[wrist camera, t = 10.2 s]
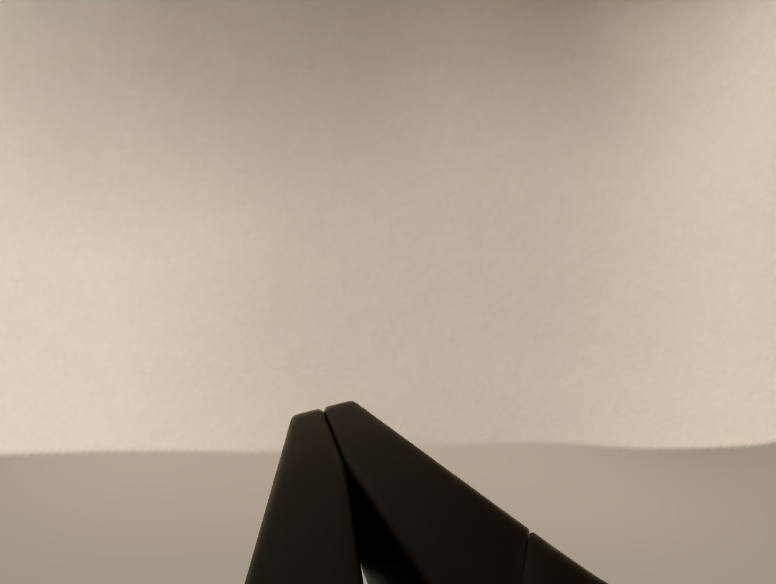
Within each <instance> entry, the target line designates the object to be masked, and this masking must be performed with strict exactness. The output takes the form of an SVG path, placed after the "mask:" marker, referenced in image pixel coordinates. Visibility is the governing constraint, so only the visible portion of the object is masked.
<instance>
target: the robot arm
mask: <svg viewBox="0 0 776 584" xmlns="http://www.w3.org/2000/svg"><path fill="white" fill-rule="evenodd" d="M361 567H362V570H363V573H364V575H365V577H366V580H367V583H368V584H608V583H606V582H604V581H603V580H601V579H600V578H598V577H596V576H595V575H593V574H592V573H590V572H589V571H587V570H586V569H585V568H583V567H581V566H580V565H578V564H577V563H576V562H574V561H573V560H571V559H570V558H569V557H567V556H566V555H564V554H563V553H561V552H560V551H558V550H557V549H556V548H554V547H553V546H551V545H550V544H549V543H547V542H546V541H545V540H543V539H542V538H541V537H539V536H538V535H537V534H535V533H530V534H529V529H528V528H527V527H525V526H523V525H522V524H521V523H520V522H518V521H517V520H515V519H514V518H513V517H511V516H510V515H509V514H507V513H506V512H505V511H503V510H502V509H501V508H499V507H497V506H496V505H495V504H494V503H492V502H491V501H490V500H488V499H487V498H485V497H484V496H483V495H481V494H480V493H479V492H477V491H476V490H474V489H473V488H472V487H470V486H469V485H468V484H466V483H465V482H464V481H462V480H461V479H460V478H458V477H457V476H455V475H454V474H452V473H451V472H450V471H449V470H447V469H446V468H444V467H443V466H442V465H440V464H439V463H437V462H436V461H435V460H433V459H432V458H431V457H429V456H428V455H427V454H425V453H424V452H423V451H421V450H420V449H419V448H417V447H416V446H414V445H413V444H412V443H410V442H409V441H408V440H406V439H405V438H403V437H402V436H401V435H399V434H398V433H397V432H395V431H394V430H393V429H391V428H390V427H388V426H387V425H386V424H384V423H383V422H382V421H380V420H379V419H377V418H376V417H375V416H373V415H372V414H371V413H369V412H368V411H367V410H365V409H364V408H362V407H361V406H360V405H358V404H357V403H355V402H353V401H348V402H344V403H340V404H336V405H332V406H328V407H326V409H325V410H324V412H323V411H322V410H319V409H317V410H313V411H309V412H305V413H301V414H297V415H295V416H293V417H292V419H291V422H290V425H289V429H288V432H287V436H286V439H285V443H284V446H283V450H282V454H281V457H280V461H279V464H278V468H277V471H276V475H275V478H274V482H273V486H272V489H271V493H270V497H269V500H268V504H267V507H266V511H265V514H264V518H263V521H262V525H261V528H260V532H259V535H258V539H257V543H256V546H255V550H254V553H253V557H252V560H251V564H250V567H249V571H248V574H247V578H246V581H245V584H363V578H362V571H361Z"/></svg>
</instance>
